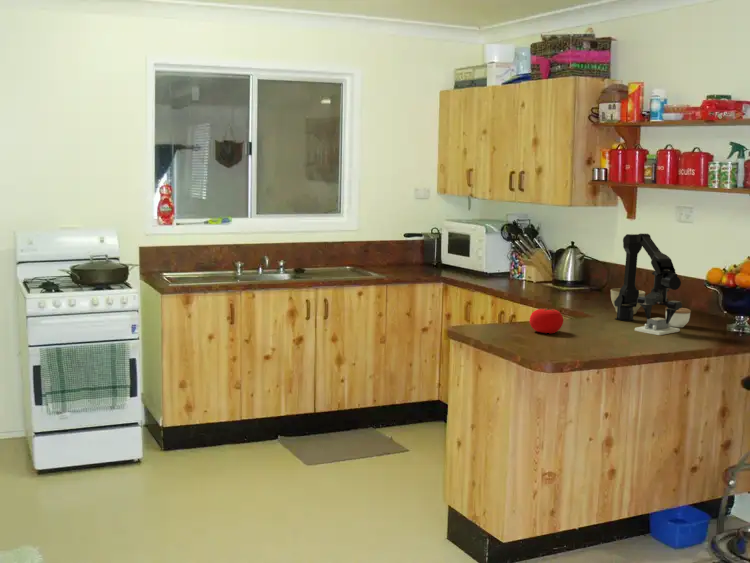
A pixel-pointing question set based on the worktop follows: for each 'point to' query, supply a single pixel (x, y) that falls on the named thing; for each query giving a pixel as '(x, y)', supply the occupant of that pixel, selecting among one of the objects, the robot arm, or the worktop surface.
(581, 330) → the worktop surface
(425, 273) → the worktop surface
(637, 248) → the robot arm
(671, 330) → the white peg board
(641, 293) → the planter bowl
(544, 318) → the tomato
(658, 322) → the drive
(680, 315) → the lidded jar
